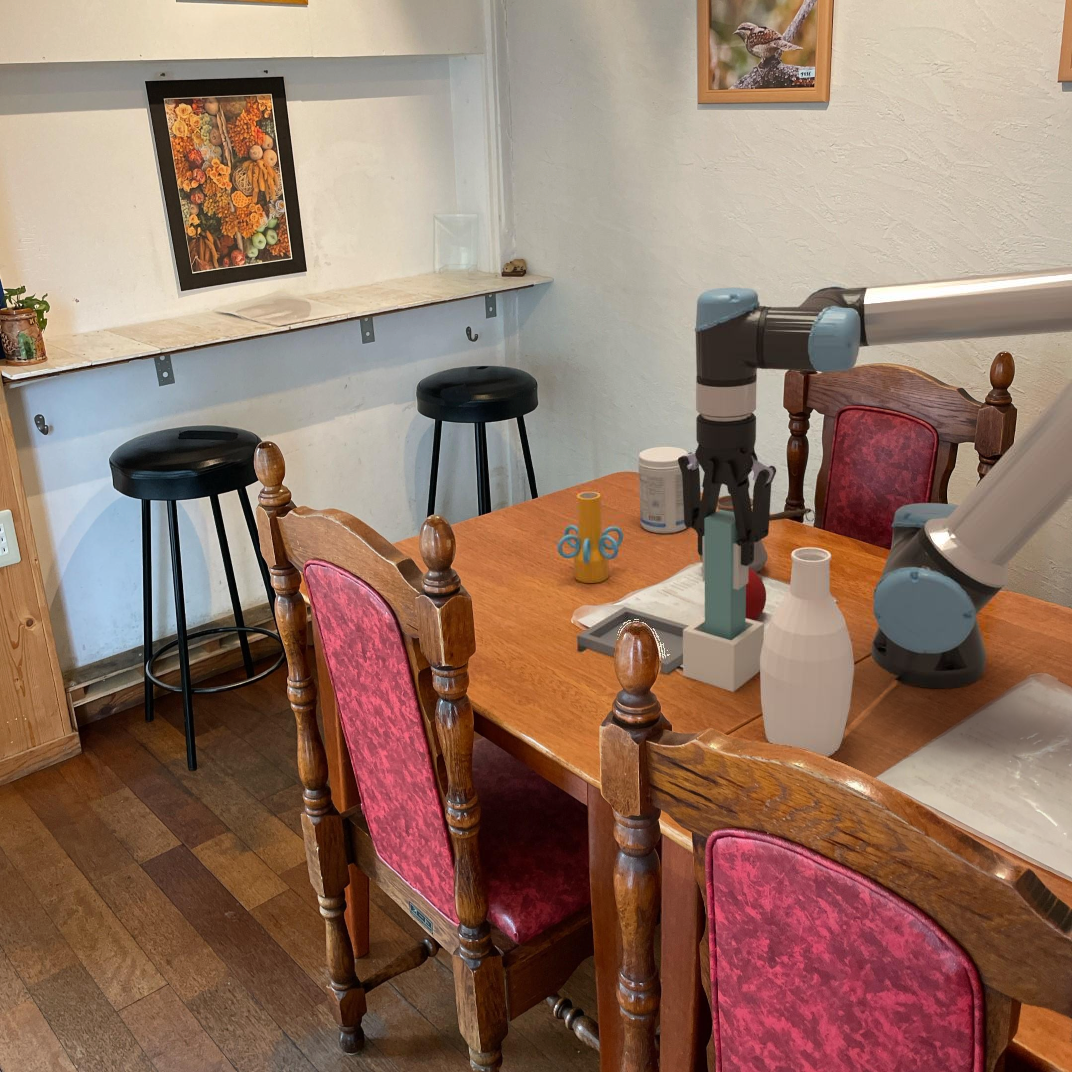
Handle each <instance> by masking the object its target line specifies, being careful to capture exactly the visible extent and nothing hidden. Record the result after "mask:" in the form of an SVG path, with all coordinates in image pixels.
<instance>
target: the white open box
mask: <svg viewBox="0 0 1072 1072" xmlns="http://www.w3.org/2000/svg"><path fill="white" fill-rule="evenodd" d="M764 636H765V622H761V621H759V620H755V621H754V620H751V619H747V618H745V631H744V632H742V633H741V634H740V635H738V636H737V637H735V638H734V639H733V640H728V639H725V638H721V637H718V636H714V635H711V634H708V633H705V615H703V616H701V618H698V619H697V620H696V621H694V622H693V623H691V624H690V625H688V627H687V628H685V629H684V630H683V664H682V676H684V677H687V678H689V679H693V680H696V681H699V682H702V683H704V684H708V685H710V686H713V687H717V688H720V689H723V690H726V691H730V692H733V693H734V692H736V690H738V689H739V688H740V687H742V686H744V684H746V683H747V682H748V681H749V680H751V679H752V678H753V677H754V676H755V675H757V674H758V673H760V655H761V650H762V645H763V640H764Z"/></svg>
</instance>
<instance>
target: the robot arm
mask: <svg viewBox="0 0 1072 1072" xmlns="http://www.w3.org/2000/svg"><path fill="white" fill-rule="evenodd" d="M695 317H696V318H695V327H694V333H695V358H696V360H695V362H696V364H695V365H696V367H695V368H696V380H695V383H696V384H695V411H696V412H698V415H697V416H696V418H695V419H696V420H695V422H696V423H695V424H696V426H695V427H696V430H695V431H696V434H695V436H696V442H697V448H696V450H695V452H687V453H688V454H686V455H683V456H681V457H679V458H678V464H679V467H680V470H681V472H682V482H683V505H684V524H685V526H686V527H687V529H689V528H691V529H693V530H695V533H696V534H697V553H698V555H699V556H700V555H701V556H703V563H702V582H705V520H704V518H706V517H708V516H710V515H712V514H713V513H715V512H717V509H718V506H717V503H718V498H720V493H721V487H722V485H724V486H726V487H727V493H728V494H729V495H731V499H732V504H733V510H734V516H735V521H736V527H737V533H738V538H739V540H738V541H736V542H735V543H733V589H737V590H738V589H740V588H741V587H743V586H744V585H746V584H747V583H748V567H749V565H750V564H751V563H753V561H754V542H758V541H760V540H761V541H762V540H763V539H765V538H766V537H768V535H769V534H770V533H769V532H770V531H769V530H770V529H769V528H770V521H769V516H770V515H771V514H770V512H771V497H772V494H771V493H772V483H773V481H774V479H775V476H776V474H777V468H776V467H775V466H774V465H770V466H766V465H765V464H763V463H762V462H760V461H758V455H757V454H756V452H755V451H756V450H755V445H756V441H757V416H756V415H755V414H754V412H756V409H757V378H758V377H757V376H758V374H757V373H758V369H762V370H781V371H782V370H783V371H786V370H787V371H804V372H805V371H806V372H808V371H809V372H820V373H823V374H825V373H829V372H845V371H846V372H847V371H850V370H851V369H853V368H854V367H855V365H856V363H857V359H858V357H859V353H860V352H859V351H860V347H870V346H872V347H873V346H886V345H900V344H912V343H916V344H917V343H928V342H941V341H957V340H972V339H985V338H1000V337H1001V338H1002V337H1012V336H1027V335H1040V334H1042V335H1043V334H1054V333H1056V334H1057V333H1069V332H1070V333H1071V332H1072V266H1067V267H1066V266H1065V267H1057V268H1046V269H1045V268H1044V269H1036V270H1035V269H1034V270H1025V271H1018V272H1017V271H1015V272H1007V273H997V274H984V275H974V276H964V277H954V278H953V277H952V278H944V279H933V280H922V281H915V282H913V281H912V282H911V281H910V282H903V283H894V284H892V283H891V284H883V285H871V286H865V287H864V286H863V287H850V288H846V287H844V286H838V285H831V286H827V287H823V288H820V289H818V290H817V291H814V292H812V293H811V294H810V295H809V296H808V297H807V298H806V299H805V300H804V301H803V302H802V303H801V304H800V305H798V306H775V307H774V306H765V305H760V301H759V294H758V292H757V291H756V290H754V289H752V288H748V287H745V288H742V287H722V288H713V289H709V290H705V291H704V292H703V293H701V294H700V295H699V297H698V298H697V301H696V316H695ZM700 467H701V469H702V471H703V472H704V473H703V480H702V485H701V472H700ZM752 471H753V477H752V480H753V481H754V484H753V491H752V500H753V506H751V502H750V498H751V496H750V491H749V490H750V486H751V484H750V479H749V475H750V473H752ZM701 487H702V494H701ZM1070 498H1072V378H1070V380H1069V381H1068V382H1067V383H1066V385H1065V386H1064V387H1063V388H1062V389H1061V390H1060V391H1059V392H1058V394H1057V395H1056V396H1055V397H1054V398H1053V399H1052V400H1051V401H1050V402H1049V403H1048V404H1047V405H1046V407H1045V408H1044V409H1043V410H1042V411H1041V413H1040V414H1039V415H1037V417H1036V418H1035V419H1034V420H1033V421H1032V423H1031V424H1030V425H1028V427H1027V428H1026V429H1025V431H1024V432H1023V433H1021V435H1020V436H1019V437H1018V438H1017V440H1015V442H1014V443H1012V445H1011V446H1010V447H1009V449H1007V450H1006V451H1005V453H1004V454H1003V455H1002V456H1001V457H1000V459H999V460H998V461H997V462H996V463H995V464H994V465H993V466H992V467H991V469H990V470H989V471H988V472H987V473H986V474H985V475H984V477H982V478H981V480H980V481H979V482H978V483H977V484H976V485H975V486H974V487H973V489H972V490H971V491H970V492H969V493H968V494H967V495H966V497H965V498H964V499H963V500H962V501H961V502H960V503H959V504H958V505H957V504H956V505H955V504H948V503H937V502H936V503H935V502H934V503H933V502H921V503H920V502H919V503H911V504H906V505H902V506H900V507H899V508H898V509H897V510H896V511H895V512H894V516H893V522H892V523H891V527H892V539H891V547H890V551H889V553H888V557H887V560H886V562H885V564H884V567H883V570H882V573H881V576H880V579H879V580H878V581H877V583H876V584H875V588H874V590H873V597H872V598H873V603H872V605H873V607H872V608H873V614H874V618H875V622H876V624H877V625H878V628H877V629H876V632H875V634H874V637H873V639H872V641H871V648H870V651H871V652H870V653H871V657H872V659H873V660H874V662H875V663H876V664H877V665H878V666H879V667H880V668H882V669H883V670H885V671H887V672H889V673H891V674H893V675H895V676H897V677H896V678H895V679H894V680H895V681H898V682H900V683H903V684H907V685H912V686H916V687H921V688H929V689H930V688H931V689H950V688H957V687H958V688H959V687H963V686H967V685H971V684H972V683H975V682H976V681H979V679H981V677H982V676H983V675H984V674H985V671H986V661H987V653H986V647H985V643H984V641H983V640H984V639H983V637H982V633H981V629H980V625H979V622H978V618H977V617H978V613H980V612H981V610H983V608H985V607H986V605H988V603H989V602H990V601H992V599H993V598H994V597H995V596H996V595H997V594H998V593H999V592H1000V591H1001V590H1002V589H1003V588H1004V587H1005V586H1006V584H1007V583H1008V580H1009V578H1008V570H1007V565H1008V563H1009V562H1010V561H1011V560H1012V559H1013V558H1014V557H1015V556H1016V555H1017V554H1018V553H1019V552H1020V550H1022V549H1023V547H1024V546H1025V545H1026V544H1027V543H1028V542H1029V541H1030V540H1031V539H1032V538H1033V537H1034V536H1035V535H1036V534H1038V532H1039V531H1040V530H1041V529H1042V528H1043V526H1044V525H1046V524H1047V523H1048V521H1050V519H1052V518H1053V516H1055V514H1057V513H1058V511H1059V510H1060V509H1061V508H1062V506H1064V505H1065V504H1066V502H1068V501H1069V499H1070Z"/></svg>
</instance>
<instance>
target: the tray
mask: <svg viewBox="0 0 1072 1072" xmlns="http://www.w3.org/2000/svg"><path fill="white" fill-rule="evenodd" d="M634 619H639V620H634ZM628 620H631V621H628ZM627 621H628V622H627ZM633 621H639V622H644V623H646V624H647V625H648V626H649V627H650V628H651V629H652V631H653V632H654V635H655V637H656V634H655V631H656V633H657V635H658V636H659V639H660V641H659V640H658V638H657V637H656V639H657V641H658V643H659V646H660V642H661V644H663V643H664V648H665V655H666V658H665V656H664V655H663V656H664V659H663V658H662V652H661V647H660V653H661V670H660V672H659V673H662V674H664V675H669V674H670V673H671V672H673V671H674V670H675V669H677V668H678V667H680V666H681V665H683V630H684V629H685V628H687V627H688V626H689V625H687V624H684V623H680V622H677V621H673V620H671V619H667V618H663V617H661V616H657V615H654V614H650V613H647V612H643V611H640V610H636V609H633V608H630V607H626V606H624V607H622V608H620V609H618V610H617V611H615V612H613V613H612V614H610V615H608V616H607V617H605V618H604V619H602V620H600V621H599V622H597V623H596V624H594V625H592V626H590V627H589V628H587V629H586V630H583V631H582V632H580V633H579V634H577V635H576V641H577V643H576V644H577V651H579V652H580V653H581V652H583V653H584V651H586V650H587V649H589V650H592V651H595V652H599V653H601V654H605V655H608V656H610V657H612V658H615V657H614V653H615V647H616V642H617V639H618V637H619V634H620V631H621V629H622V628H623V627H624V626H625V625H626V624H627V623H629V622H633ZM624 622H627V623H625V624H624V625H623V623H624ZM621 626H622V627H621ZM620 627H621V628H620ZM653 628H654V629H655V631H654V630H653ZM619 629H620V630H619ZM618 631H619V633H618ZM617 634H618V635H617ZM664 648H663V645H662V650H663V654H664ZM667 650H668V651H667ZM667 654H670V655H669V656H667Z"/></svg>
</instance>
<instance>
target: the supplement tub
mask: <svg viewBox="0 0 1072 1072" xmlns="http://www.w3.org/2000/svg"><path fill="white" fill-rule="evenodd" d="M688 453H689V452H688V451H686V450H685V449H683V448H681V447H673V446H657V447H656V446H655V447H651V448H648V449H644V450H643V451H641V452H639V454H638V489H639V491H638V492H639V494H638V495H639V512H640V513H639V515H640V516H639V517H640V525H641V527H642V528H643V529H644V530H646V531H648V532H651V533H656V534H674V533H678V532H680V531H684V530H685V529H688V527H686V526H685V524H684V505H683V482H682V472H681V470H680V467H679V464H678V458H679V457H681V456H683V455H686V454H688Z"/></svg>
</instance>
